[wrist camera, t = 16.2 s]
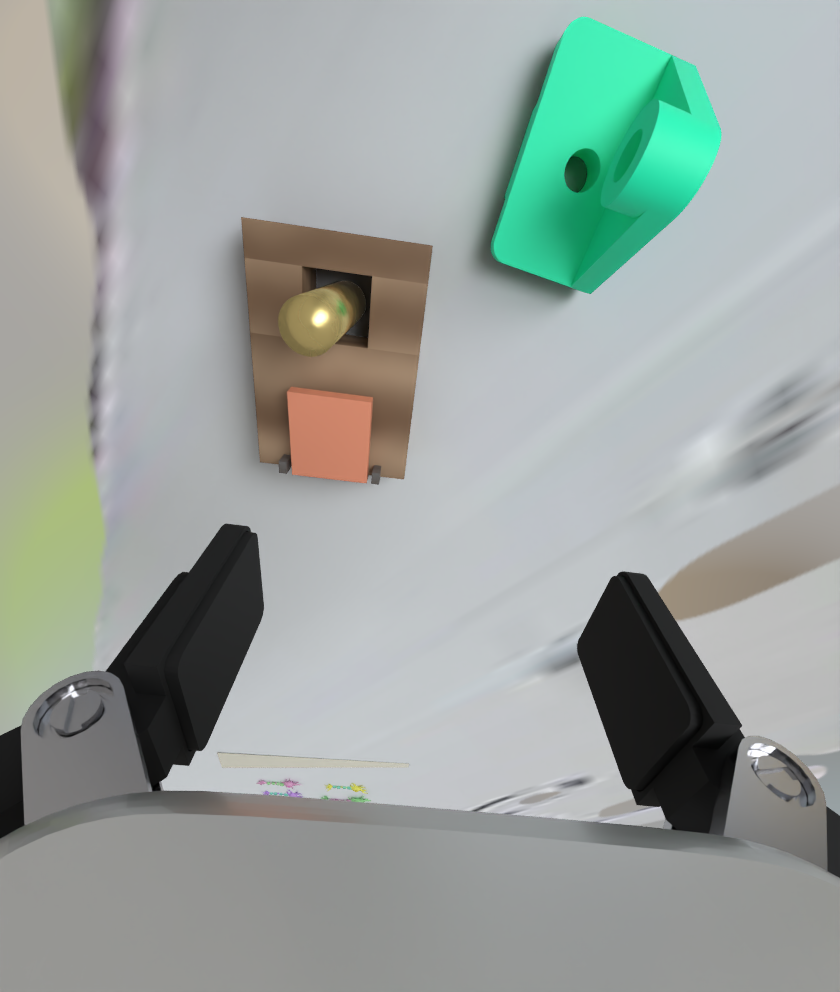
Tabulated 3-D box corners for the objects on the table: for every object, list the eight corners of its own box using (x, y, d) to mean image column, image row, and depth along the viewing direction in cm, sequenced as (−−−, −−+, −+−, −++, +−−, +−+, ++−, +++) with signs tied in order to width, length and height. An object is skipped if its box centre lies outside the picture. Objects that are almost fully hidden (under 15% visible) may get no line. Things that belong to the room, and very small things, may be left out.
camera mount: (558, 32, 24) (633, -94, 15) (671, 82, 25) (803, -9, 16) (484, 257, 30) (507, 259, 21) (578, 290, 31) (639, 306, 22)
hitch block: (263, 221, 29) (232, 215, 24) (431, 246, 30) (432, 245, 25) (275, 442, 38) (253, 469, 33) (405, 458, 38) (403, 487, 34)
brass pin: (327, 277, 31) (276, 290, 21) (367, 283, 31) (337, 299, 21) (326, 320, 32) (279, 352, 22) (364, 326, 33) (335, 360, 22)
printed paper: (409, 761, 66) (408, 771, 64) (398, 839, 81) (397, 848, 80) (218, 750, 65) (213, 760, 63) (244, 830, 80) (241, 840, 79)
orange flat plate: (291, 386, 30) (287, 391, 29) (373, 397, 30) (371, 402, 30) (295, 468, 34) (292, 474, 33) (367, 476, 34) (366, 483, 34)
